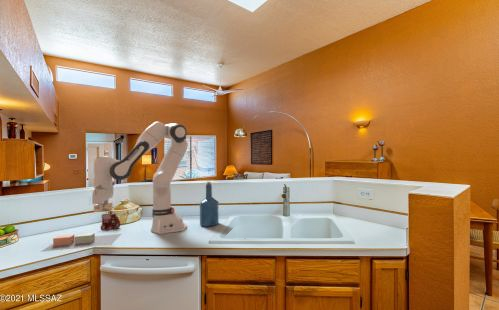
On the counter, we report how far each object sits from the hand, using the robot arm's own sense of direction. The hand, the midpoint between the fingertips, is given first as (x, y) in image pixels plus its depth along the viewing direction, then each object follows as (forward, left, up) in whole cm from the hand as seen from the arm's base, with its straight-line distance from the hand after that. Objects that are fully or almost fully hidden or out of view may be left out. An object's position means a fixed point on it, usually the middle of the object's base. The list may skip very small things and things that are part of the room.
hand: (103, 208), depth 126 cm
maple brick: (0, 0, -1) cm, 1 cm away
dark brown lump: (+4, -24, -20) cm, 31 cm away
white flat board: (+9, 0, -19) cm, 21 cm away
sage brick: (+9, 0, -18) cm, 20 cm away
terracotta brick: (+19, 0, -18) cm, 26 cm away
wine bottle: (-61, -16, -19) cm, 66 cm away
